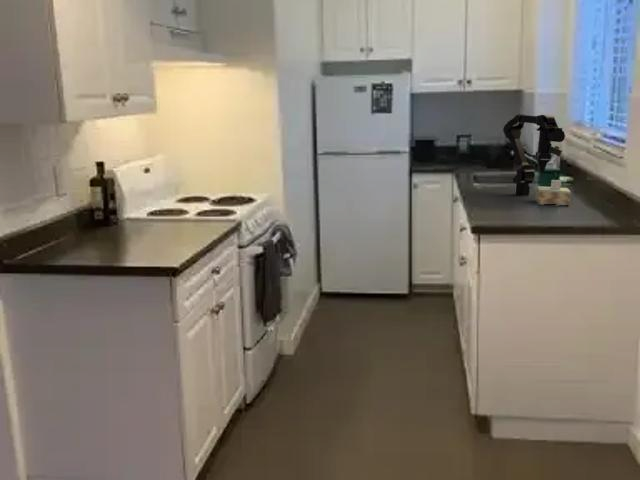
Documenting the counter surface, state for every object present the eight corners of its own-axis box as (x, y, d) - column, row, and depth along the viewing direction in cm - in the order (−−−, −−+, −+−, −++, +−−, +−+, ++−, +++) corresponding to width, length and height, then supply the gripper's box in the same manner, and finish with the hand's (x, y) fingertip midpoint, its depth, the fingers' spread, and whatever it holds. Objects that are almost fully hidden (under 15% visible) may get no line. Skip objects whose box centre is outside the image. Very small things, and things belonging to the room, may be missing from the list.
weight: (551, 189, 329) (552, 180, 328) (550, 188, 332) (551, 179, 332) (560, 189, 328) (561, 181, 327) (559, 188, 332) (560, 180, 331)
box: (537, 204, 327) (539, 191, 325) (535, 200, 340) (537, 187, 339) (569, 206, 324) (570, 193, 322) (565, 201, 337) (567, 189, 336)
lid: (539, 191, 325) (539, 189, 325) (537, 187, 339) (537, 186, 338) (570, 193, 322) (570, 191, 322) (567, 189, 336) (567, 188, 335)
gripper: (564, 142, 330) (560, 175, 333) (559, 140, 347) (556, 171, 351) (539, 141, 332) (536, 174, 335) (536, 139, 350) (533, 170, 353)
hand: (541, 172), depth 343 cm, fingers open, 9 cm apart
